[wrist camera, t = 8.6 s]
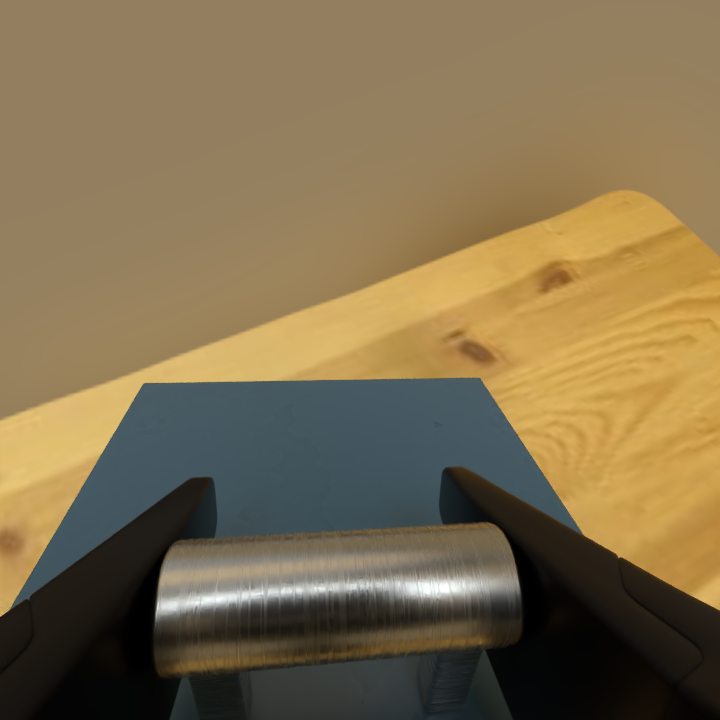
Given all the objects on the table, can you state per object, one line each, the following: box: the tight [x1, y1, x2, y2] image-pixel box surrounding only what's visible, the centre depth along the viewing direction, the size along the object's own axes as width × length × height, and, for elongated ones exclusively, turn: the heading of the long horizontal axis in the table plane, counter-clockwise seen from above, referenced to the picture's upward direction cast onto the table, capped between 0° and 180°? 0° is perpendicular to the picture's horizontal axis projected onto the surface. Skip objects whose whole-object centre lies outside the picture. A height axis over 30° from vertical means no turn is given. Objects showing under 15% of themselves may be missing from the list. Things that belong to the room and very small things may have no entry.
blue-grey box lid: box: [10, 378, 583, 720], centre depth 10 cm, size 12×13×5 cm
